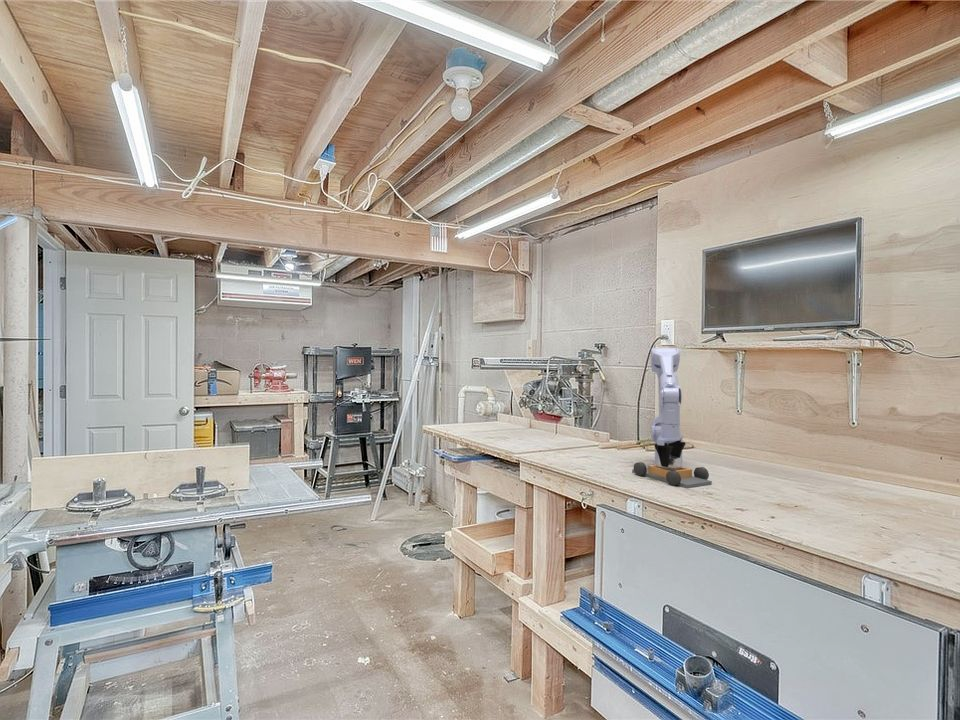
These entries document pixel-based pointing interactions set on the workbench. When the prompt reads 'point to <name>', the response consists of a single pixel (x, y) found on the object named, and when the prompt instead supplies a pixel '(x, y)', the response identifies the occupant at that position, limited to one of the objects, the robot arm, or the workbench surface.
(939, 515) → the workbench surface
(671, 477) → the chassis
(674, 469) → the engine block
